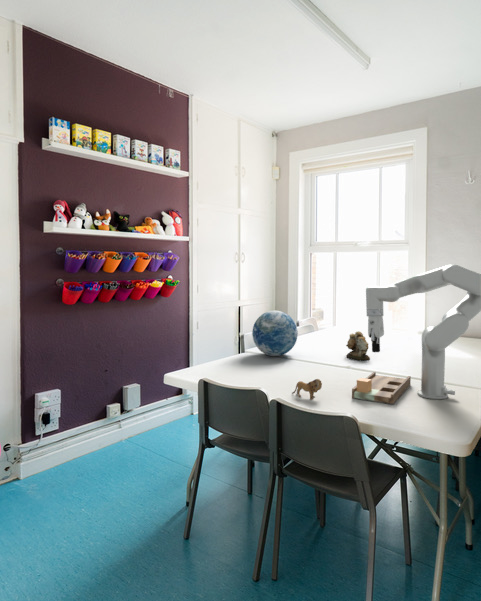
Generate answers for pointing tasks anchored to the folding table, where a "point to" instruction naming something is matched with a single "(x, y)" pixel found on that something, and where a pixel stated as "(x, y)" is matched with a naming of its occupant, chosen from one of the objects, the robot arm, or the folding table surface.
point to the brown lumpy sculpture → (357, 347)
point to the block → (364, 385)
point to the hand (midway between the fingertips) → (376, 351)
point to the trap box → (383, 389)
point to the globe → (275, 333)
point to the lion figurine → (309, 387)
